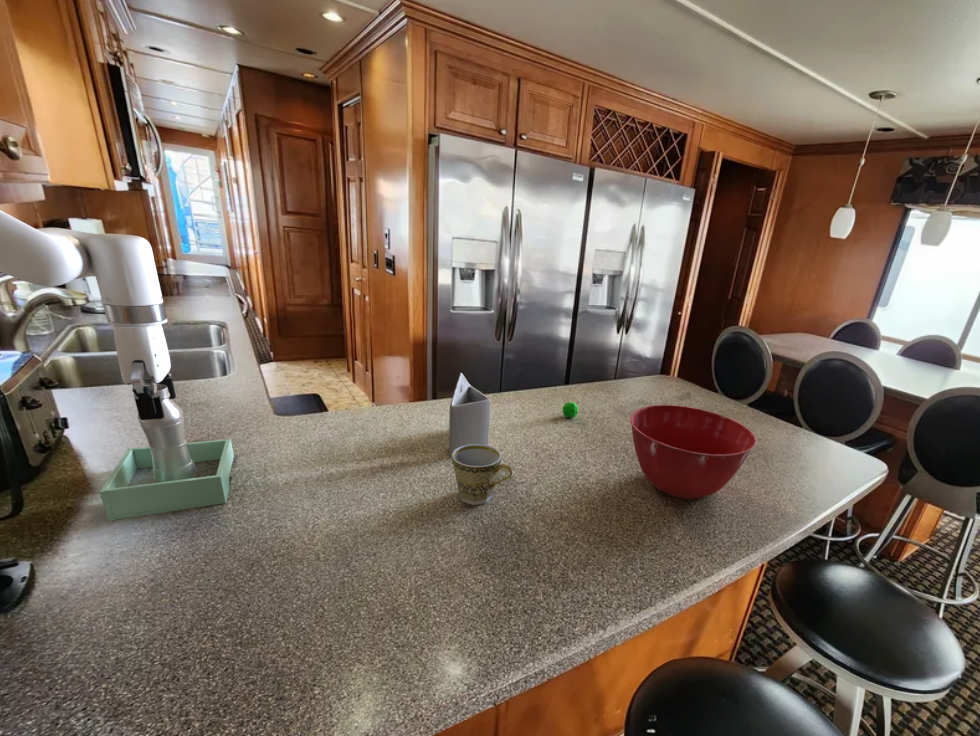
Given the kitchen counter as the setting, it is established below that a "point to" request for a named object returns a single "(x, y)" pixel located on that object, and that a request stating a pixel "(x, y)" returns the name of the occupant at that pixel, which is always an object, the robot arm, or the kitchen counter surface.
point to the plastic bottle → (168, 442)
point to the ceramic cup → (477, 472)
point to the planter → (468, 416)
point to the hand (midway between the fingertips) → (159, 408)
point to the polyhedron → (570, 409)
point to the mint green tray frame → (167, 483)
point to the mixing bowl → (689, 448)
